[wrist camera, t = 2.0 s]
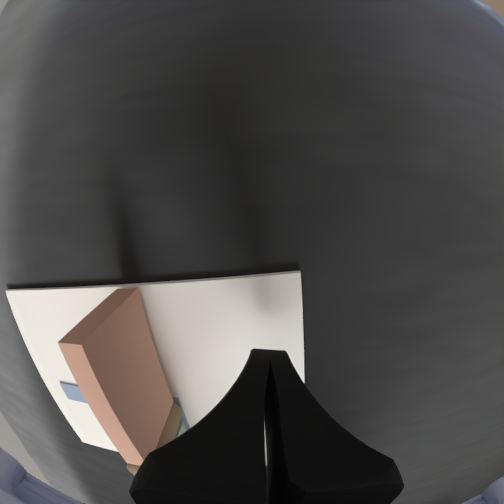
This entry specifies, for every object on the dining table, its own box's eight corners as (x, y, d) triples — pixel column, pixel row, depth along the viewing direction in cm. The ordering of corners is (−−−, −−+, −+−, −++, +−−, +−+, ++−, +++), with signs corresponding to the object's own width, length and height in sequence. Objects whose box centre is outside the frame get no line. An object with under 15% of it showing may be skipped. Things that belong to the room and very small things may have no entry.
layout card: (303, 459, 17) (303, 464, 16) (84, 439, 18) (82, 443, 18) (299, 270, 13) (301, 273, 12) (8, 289, 14) (3, 291, 14)
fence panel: (185, 419, 15) (166, 484, 10) (159, 417, 15) (134, 478, 10) (143, 287, 12) (88, 345, 8) (112, 288, 13) (52, 341, 8)
